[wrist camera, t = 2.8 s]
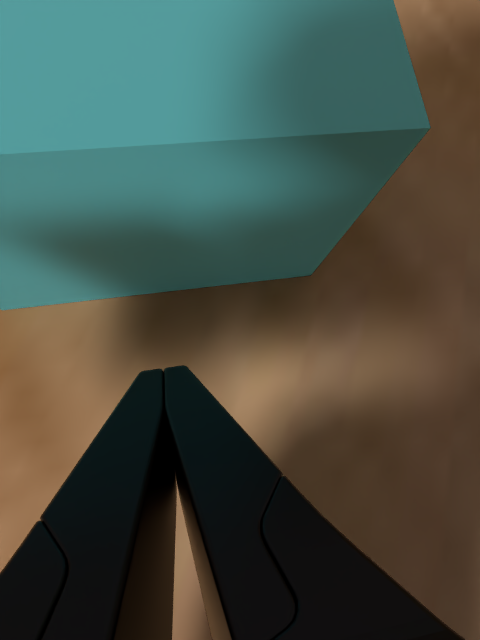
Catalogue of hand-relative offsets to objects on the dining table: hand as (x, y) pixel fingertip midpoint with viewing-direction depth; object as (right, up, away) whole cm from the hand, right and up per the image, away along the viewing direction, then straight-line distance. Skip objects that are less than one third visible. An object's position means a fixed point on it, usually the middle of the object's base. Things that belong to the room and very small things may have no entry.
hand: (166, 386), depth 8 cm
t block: (-2, +7, +10) cm, 12 cm away
